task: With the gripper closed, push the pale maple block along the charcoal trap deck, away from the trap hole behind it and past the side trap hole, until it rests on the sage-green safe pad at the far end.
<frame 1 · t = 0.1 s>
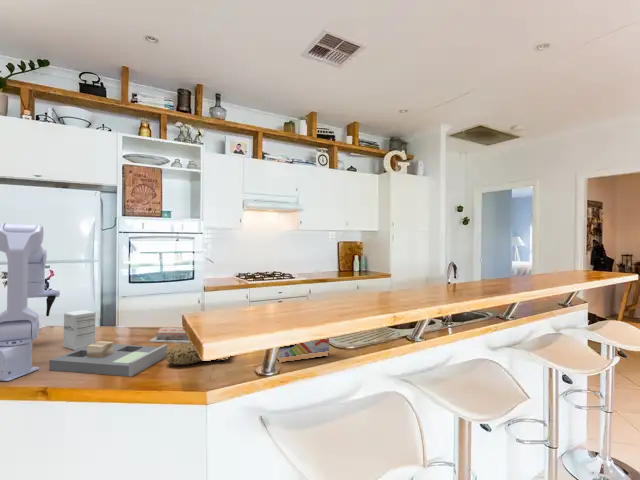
hand: (34, 316, 128), 11 cm above the worktop, tool pointing down, fingers open, 7 cm apart
supplement box: (79, 346, 127), on the worktop
sponge: (200, 362, 115), on the worktop
block: (100, 354, 110), point 3 cm above the worktop, touching trap deck
trap deck: (111, 362, 111), on the worktop
packaged product: (177, 341, 139), on the worktop
cake pan box: (301, 359, 119), on the worktop
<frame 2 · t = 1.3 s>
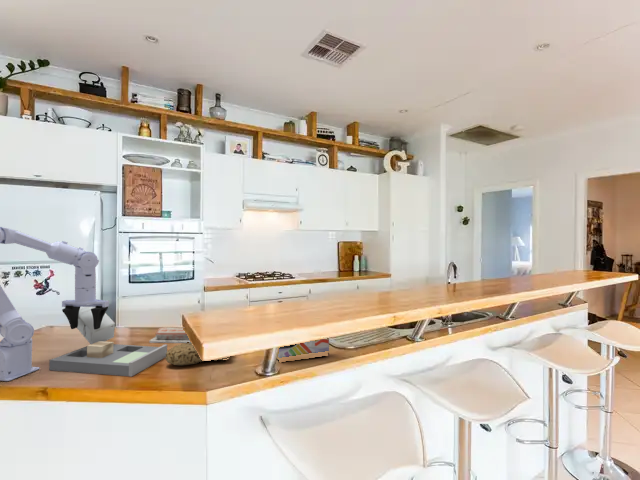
hand: (85, 328, 115), 10 cm above the worktop, tool pointing down, fingers open, 7 cm apart
supplement box: (84, 312, 123), point 13 cm above the worktop, touching trap deck
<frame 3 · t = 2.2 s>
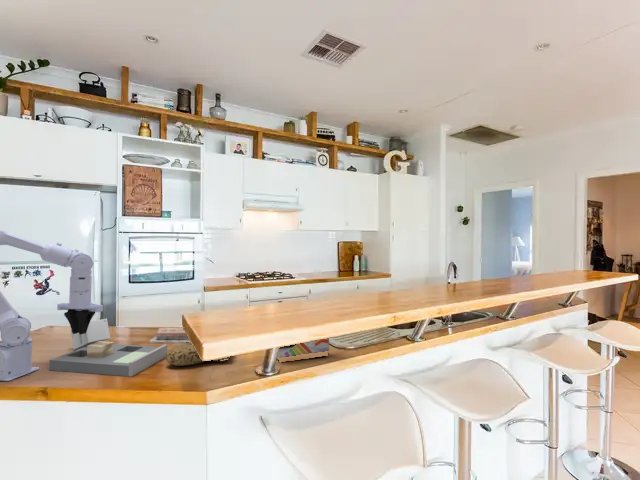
hand: (79, 333, 111), 9 cm above the worktop, tool pointing down, fingers closed
supplement box: (82, 338, 127), point 3 cm above the worktop, touching trap deck
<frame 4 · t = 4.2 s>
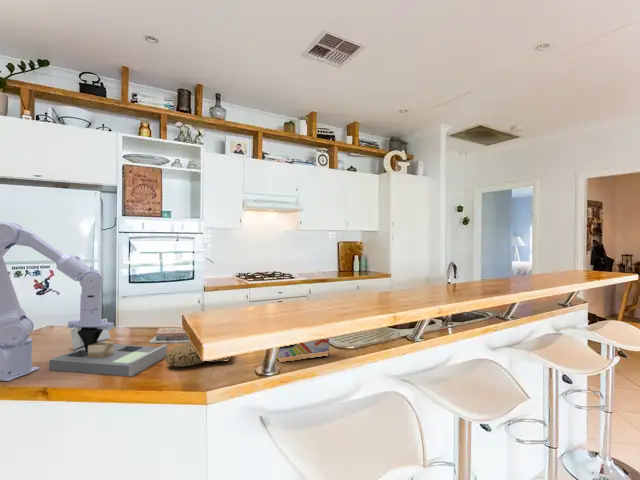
hand: (90, 351, 110), 4 cm above the worktop, tool pointing down, fingers closed
block: (101, 354, 110), point 3 cm above the worktop, touching gripper
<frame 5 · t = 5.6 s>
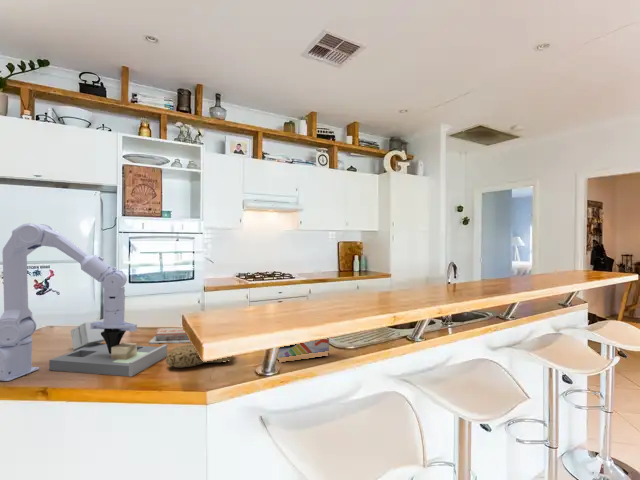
hand: (113, 352, 109), 4 cm above the worktop, tool pointing down, fingers closed
block: (124, 356, 108), point 3 cm above the worktop, touching gripper, trap deck
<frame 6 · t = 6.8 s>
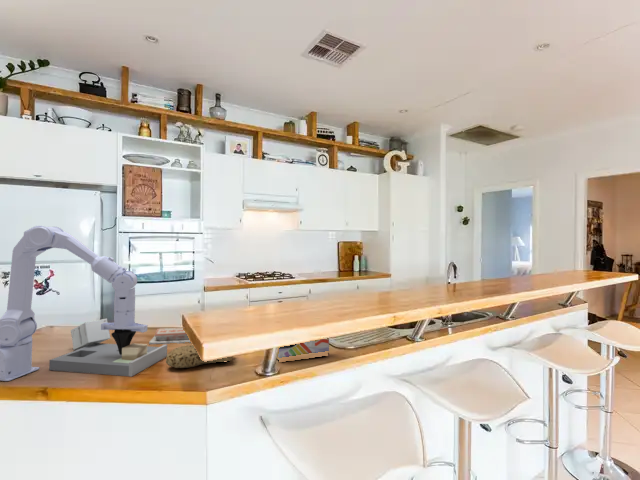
hand: (123, 353, 109), 4 cm above the worktop, tool pointing down, fingers closed
block: (134, 357, 108), point 3 cm above the worktop, touching gripper, trap deck
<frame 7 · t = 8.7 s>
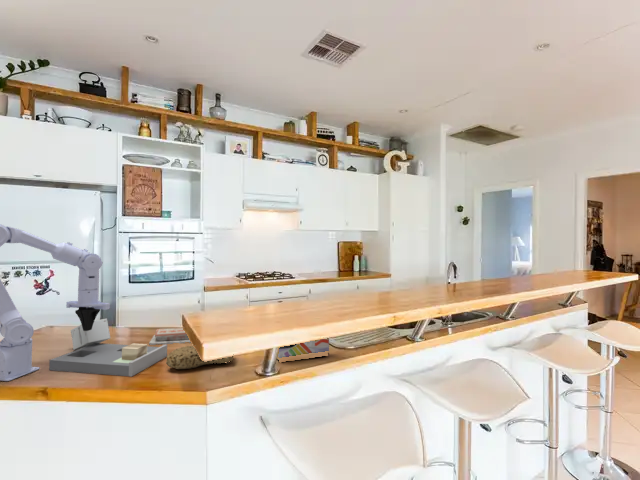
hand: (87, 330, 115), 9 cm above the worktop, tool pointing down, fingers closed
block: (134, 357, 108), point 3 cm above the worktop, touching trap deck
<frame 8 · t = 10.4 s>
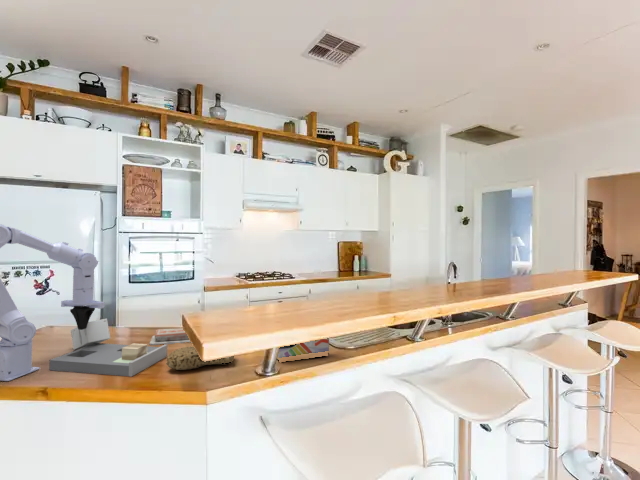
hand: (82, 328, 116), 9 cm above the worktop, tool pointing down, fingers closed
at the end: block inside the target area (0.6 cm from its centre), point 3.0 cm above the worktop; block tilted 0° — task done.
